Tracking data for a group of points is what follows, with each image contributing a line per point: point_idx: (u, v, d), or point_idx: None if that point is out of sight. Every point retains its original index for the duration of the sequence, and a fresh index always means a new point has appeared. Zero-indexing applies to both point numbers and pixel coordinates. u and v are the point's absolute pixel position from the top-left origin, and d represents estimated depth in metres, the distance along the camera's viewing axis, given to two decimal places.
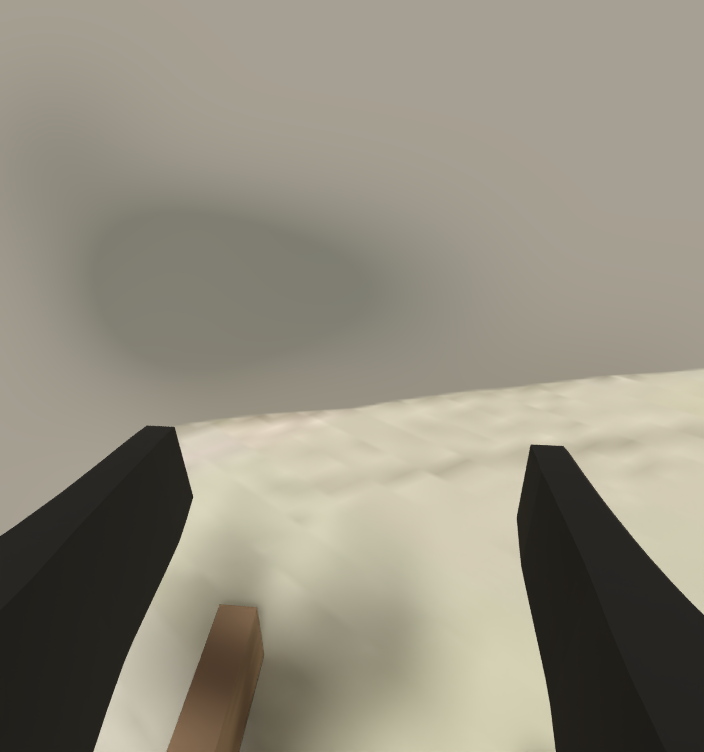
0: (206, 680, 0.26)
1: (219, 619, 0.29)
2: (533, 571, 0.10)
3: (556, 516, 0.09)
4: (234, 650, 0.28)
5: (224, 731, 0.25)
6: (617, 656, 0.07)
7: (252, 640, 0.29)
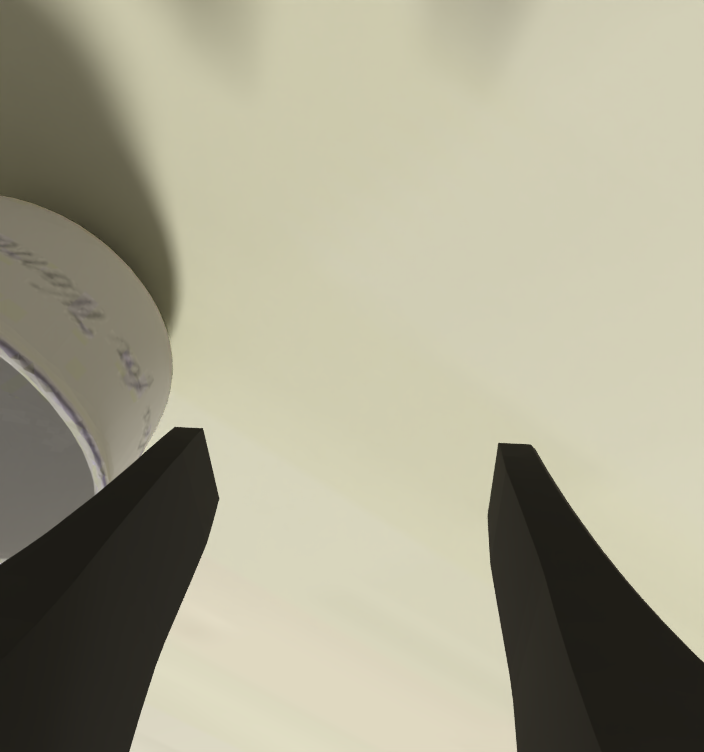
0: None
1: None
2: (499, 569, 0.10)
3: (517, 514, 0.09)
4: None
5: None
6: (563, 651, 0.07)
7: None
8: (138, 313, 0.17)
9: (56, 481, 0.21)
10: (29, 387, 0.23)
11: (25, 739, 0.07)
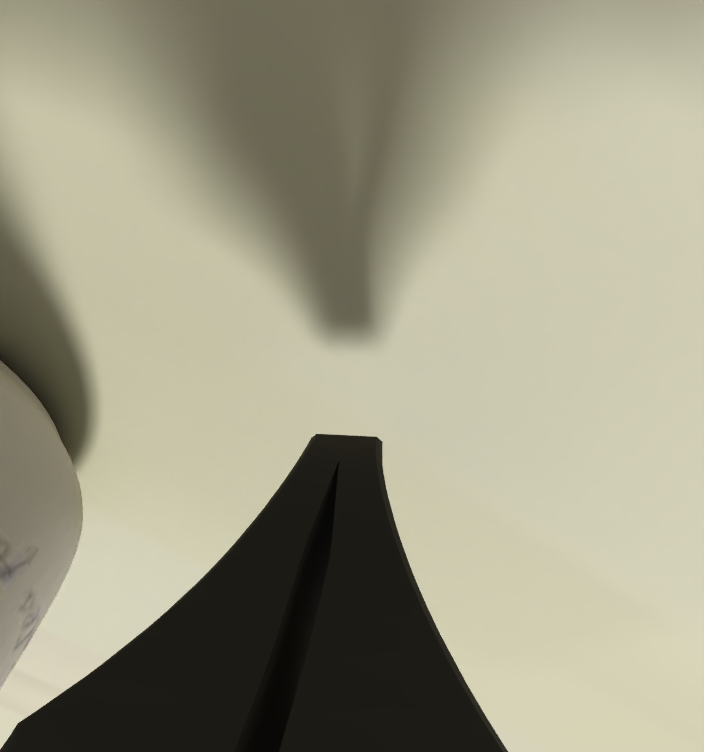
0: None
1: None
2: None
3: (336, 502, 0.09)
4: None
5: None
6: None
7: None
8: (12, 460, 0.12)
9: None
10: None
11: None
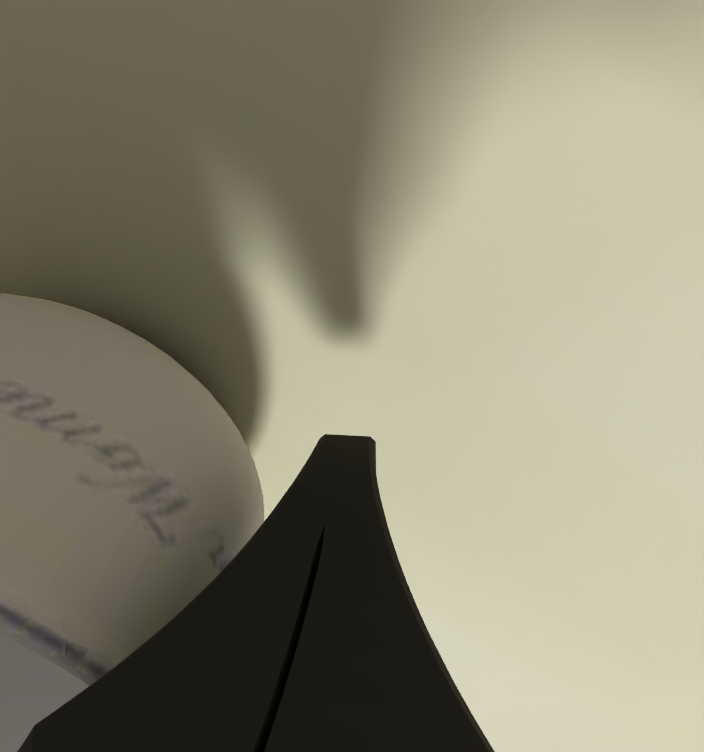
0: None
1: None
2: None
3: (328, 502, 0.09)
4: None
5: None
6: None
7: None
8: (231, 474, 0.11)
9: None
10: None
11: None
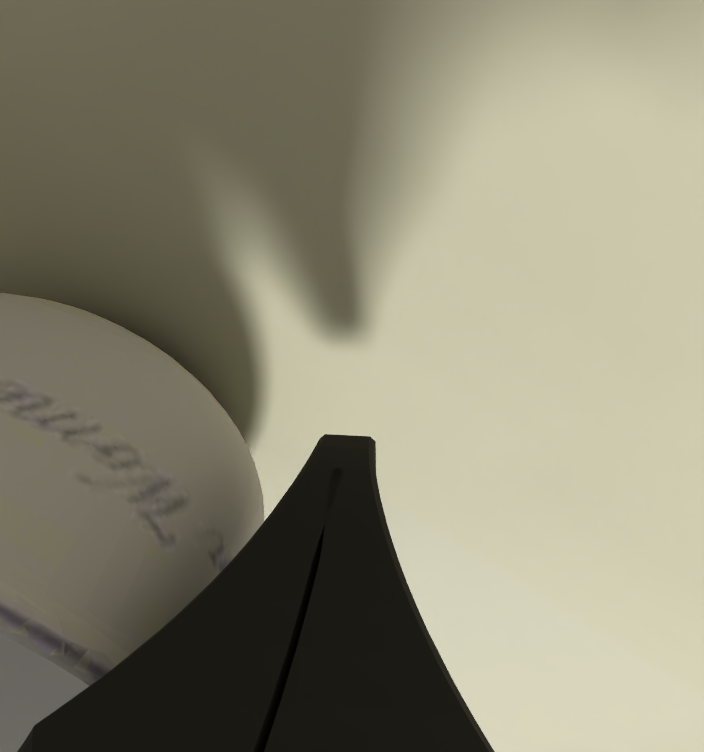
0: None
1: None
2: None
3: (328, 501, 0.09)
4: None
5: None
6: None
7: None
8: (231, 474, 0.11)
9: None
10: None
11: None
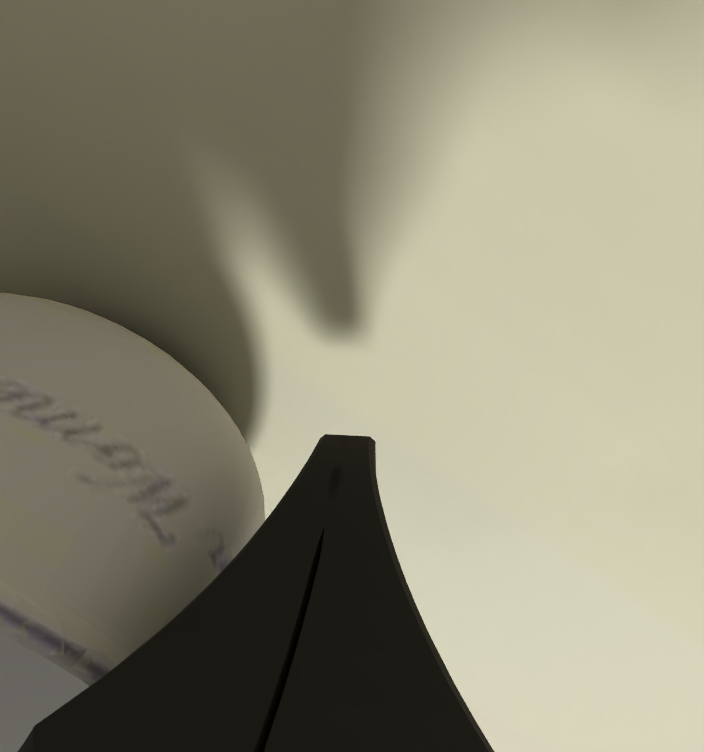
0: None
1: None
2: None
3: (328, 501, 0.09)
4: None
5: None
6: None
7: None
8: (231, 474, 0.11)
9: None
10: None
11: None
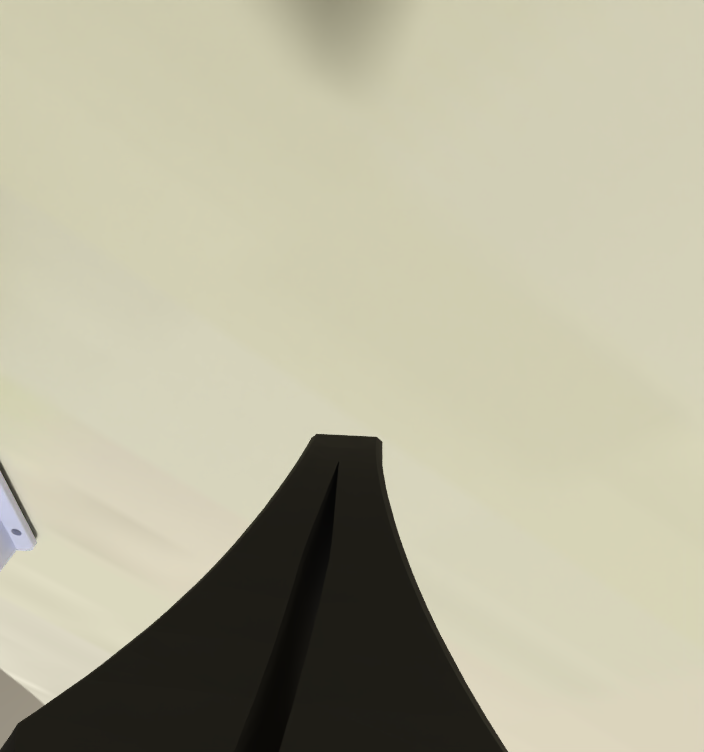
0: None
1: None
2: None
3: (336, 502, 0.09)
4: None
5: None
6: None
7: None
8: None
9: None
10: None
11: None
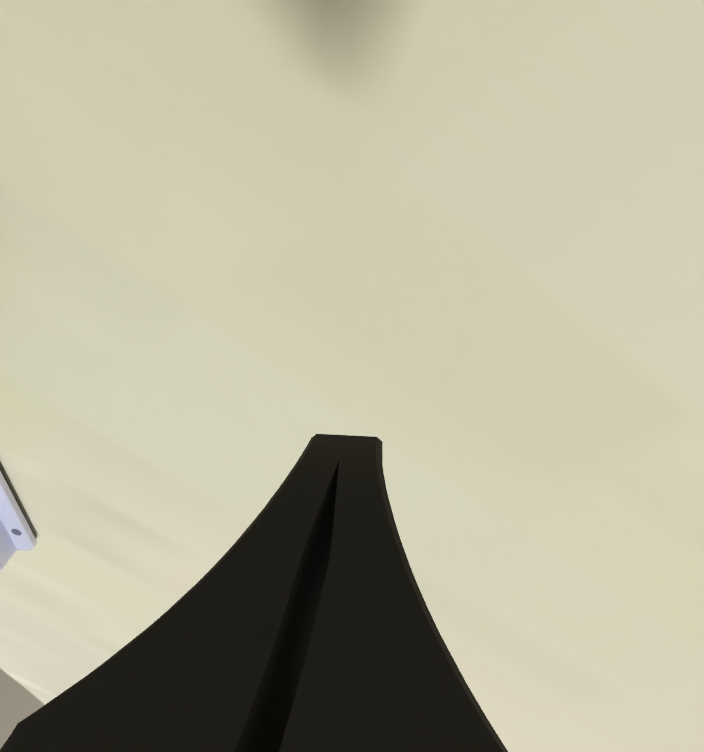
0: None
1: None
2: None
3: (336, 502, 0.09)
4: None
5: None
6: None
7: None
8: None
9: None
10: None
11: None
